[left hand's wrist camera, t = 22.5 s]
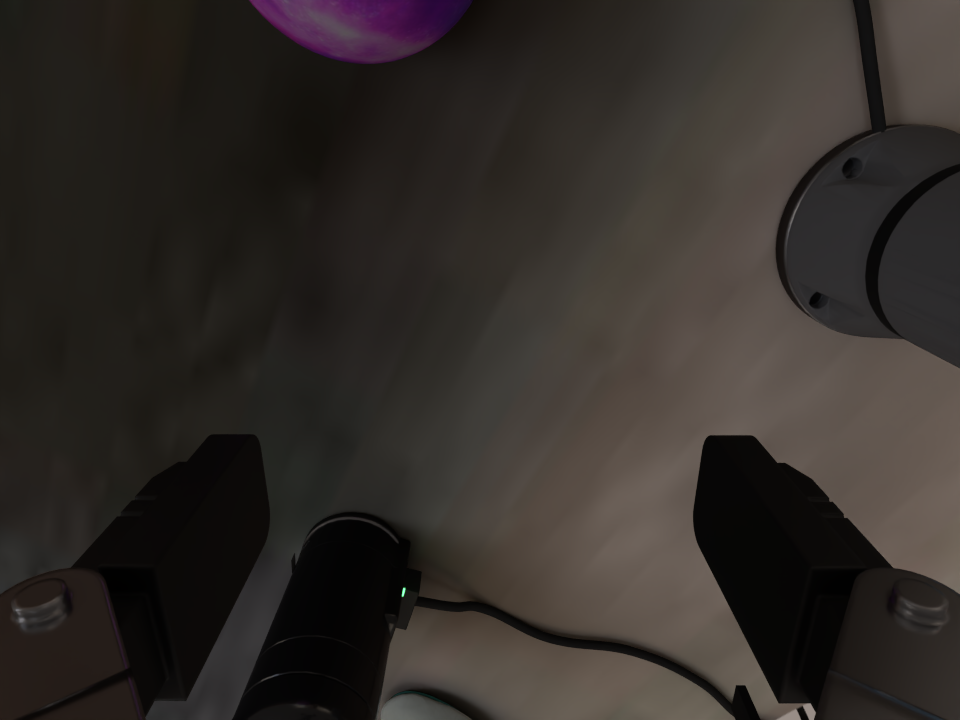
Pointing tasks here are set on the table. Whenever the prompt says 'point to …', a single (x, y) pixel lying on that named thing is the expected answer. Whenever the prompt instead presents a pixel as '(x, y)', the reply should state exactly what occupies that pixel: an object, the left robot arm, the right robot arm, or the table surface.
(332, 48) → the decorative orb
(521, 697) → the table surface
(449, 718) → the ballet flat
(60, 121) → the table surface
